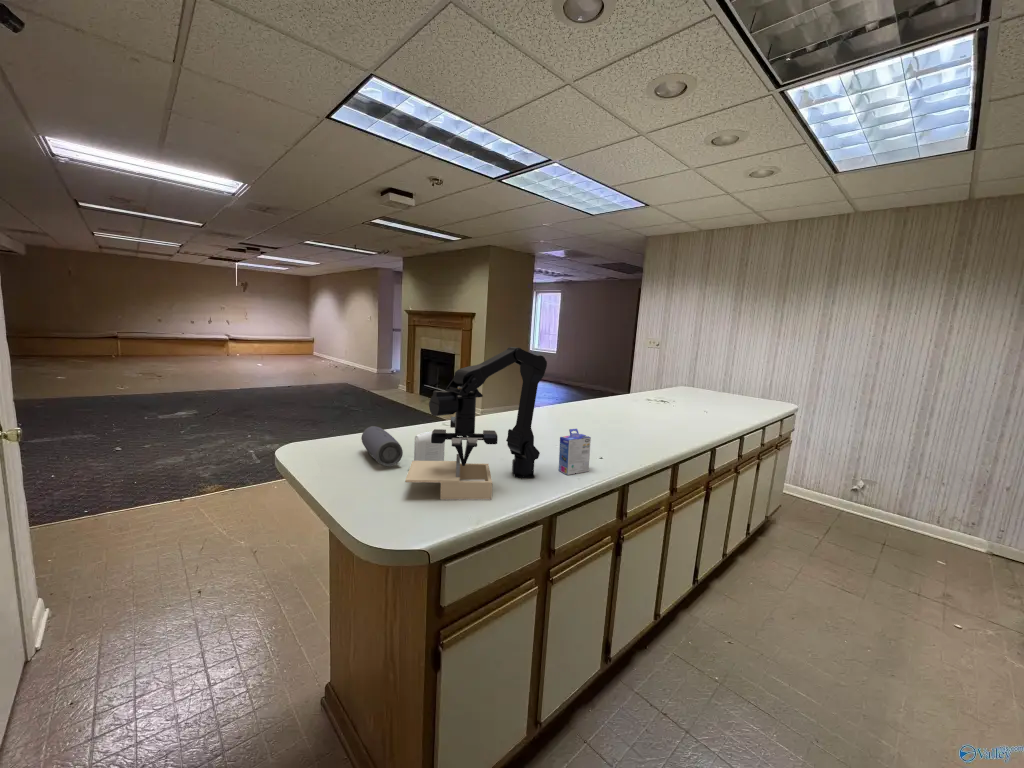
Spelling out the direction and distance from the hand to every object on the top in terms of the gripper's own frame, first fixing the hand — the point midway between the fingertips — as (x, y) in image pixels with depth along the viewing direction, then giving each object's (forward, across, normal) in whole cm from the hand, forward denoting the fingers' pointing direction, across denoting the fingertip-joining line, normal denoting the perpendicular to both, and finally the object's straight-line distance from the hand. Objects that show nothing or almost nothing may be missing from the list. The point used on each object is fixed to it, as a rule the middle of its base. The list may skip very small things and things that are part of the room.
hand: (463, 465), depth 121 cm
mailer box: (+7, -1, 0) cm, 7 cm away
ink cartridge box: (+7, -38, -16) cm, 42 cm away
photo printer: (+7, +11, -18) cm, 22 cm away
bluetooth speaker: (+7, +28, -26) cm, 39 cm away
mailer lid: (+2, +8, 0) cm, 9 cm away
